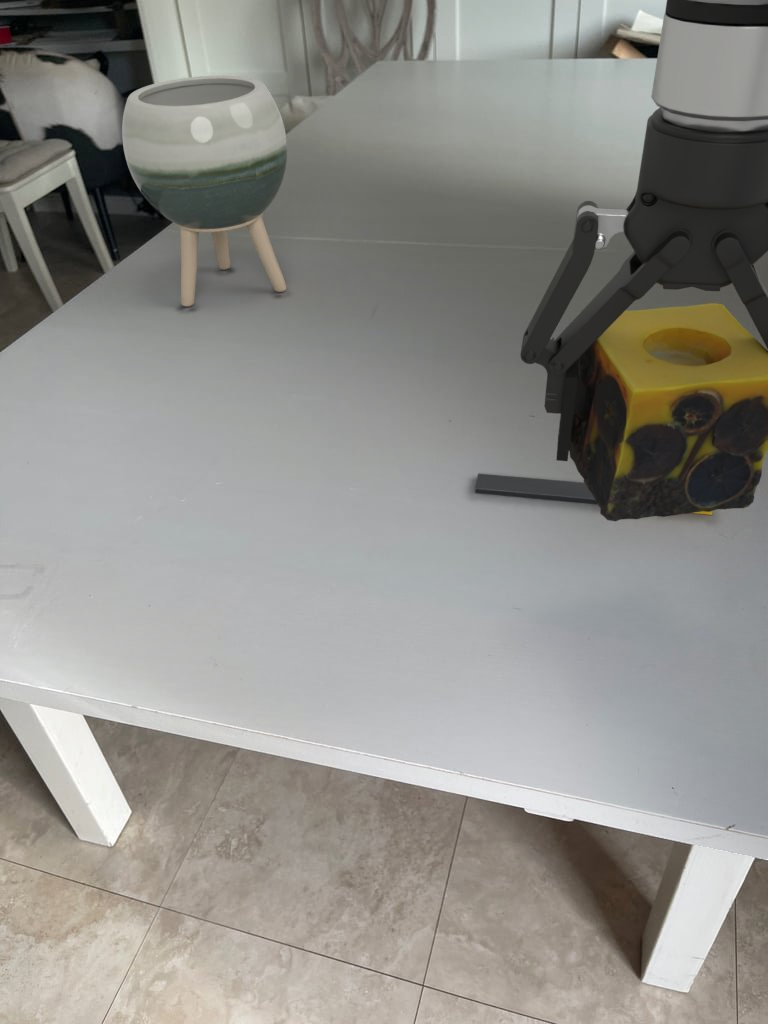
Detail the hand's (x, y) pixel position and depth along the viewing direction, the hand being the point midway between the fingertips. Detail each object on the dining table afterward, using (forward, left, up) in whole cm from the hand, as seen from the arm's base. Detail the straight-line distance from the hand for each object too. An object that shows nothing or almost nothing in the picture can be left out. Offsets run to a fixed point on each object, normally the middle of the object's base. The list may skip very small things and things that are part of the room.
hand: (653, 456), depth 55 cm
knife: (+14, -13, -18) cm, 26 cm away
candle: (0, 0, -1) cm, 1 cm away
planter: (+84, -12, -19) cm, 87 cm away
